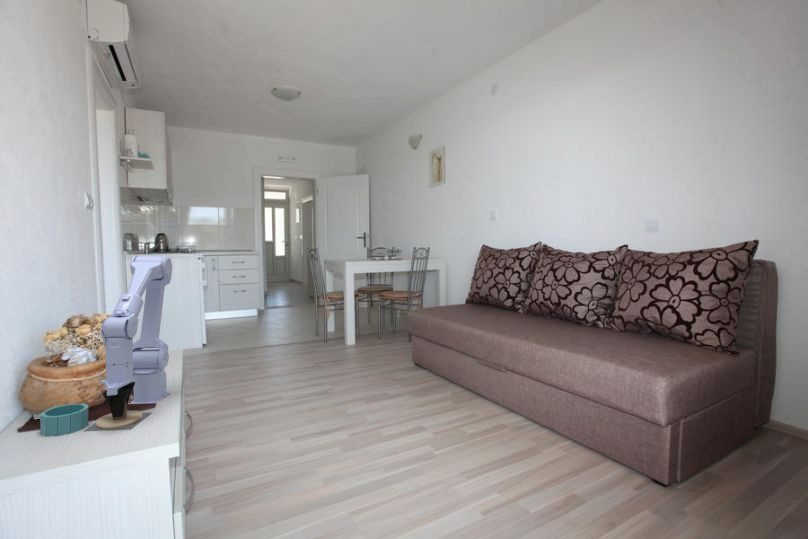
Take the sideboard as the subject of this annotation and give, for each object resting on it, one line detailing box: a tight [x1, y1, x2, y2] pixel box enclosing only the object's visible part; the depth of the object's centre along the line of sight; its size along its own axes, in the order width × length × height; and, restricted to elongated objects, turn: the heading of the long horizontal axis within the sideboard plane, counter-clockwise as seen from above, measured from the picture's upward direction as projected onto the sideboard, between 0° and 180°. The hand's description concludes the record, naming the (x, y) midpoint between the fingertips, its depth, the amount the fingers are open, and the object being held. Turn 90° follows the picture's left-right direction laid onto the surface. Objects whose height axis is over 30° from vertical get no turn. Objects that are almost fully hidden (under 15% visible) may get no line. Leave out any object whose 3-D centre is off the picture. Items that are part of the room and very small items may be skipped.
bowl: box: [39, 403, 89, 437], centre depth 100 cm, size 9×9×5 cm
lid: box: [95, 401, 143, 429], centre depth 104 cm, size 10×10×5 cm
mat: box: [83, 412, 153, 432], centre depth 104 cm, size 11×11×1 cm
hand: (119, 414), depth 104 cm, fingers closed on lid, 3 cm apart
